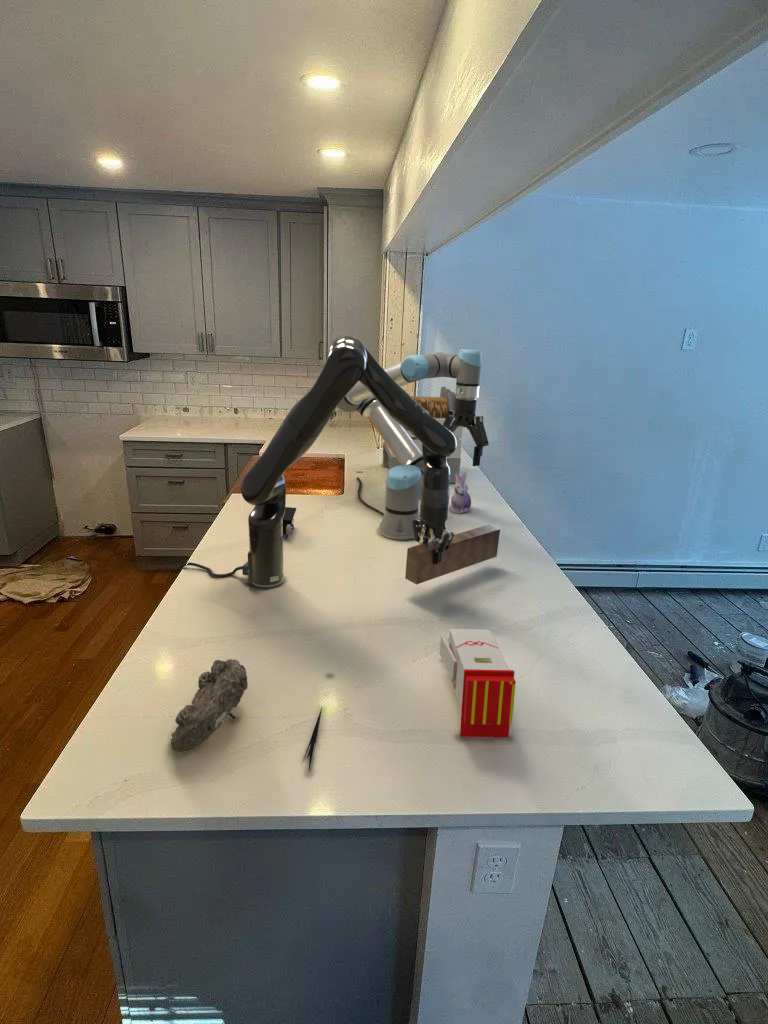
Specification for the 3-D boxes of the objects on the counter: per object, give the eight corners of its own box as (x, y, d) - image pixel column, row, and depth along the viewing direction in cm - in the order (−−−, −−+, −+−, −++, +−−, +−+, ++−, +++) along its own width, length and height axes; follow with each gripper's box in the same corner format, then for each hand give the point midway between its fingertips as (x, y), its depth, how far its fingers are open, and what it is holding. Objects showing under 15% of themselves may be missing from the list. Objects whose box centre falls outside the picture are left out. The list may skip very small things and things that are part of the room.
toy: (489, 613, 130) (525, 677, 101) (485, 667, 133) (518, 744, 104) (437, 612, 130) (457, 676, 101) (434, 666, 133) (453, 743, 103)
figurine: (457, 515, 220) (461, 478, 215) (443, 507, 229) (446, 471, 224) (477, 512, 224) (481, 475, 219) (462, 504, 233) (466, 469, 228)
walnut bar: (416, 584, 152) (419, 553, 149) (405, 578, 155) (407, 548, 152) (496, 556, 173) (500, 529, 170) (485, 551, 176) (488, 524, 173)
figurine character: (292, 545, 190) (297, 524, 203) (291, 525, 186) (296, 505, 200) (271, 544, 189) (278, 523, 203) (270, 524, 186) (277, 504, 199)
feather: (331, 679, 122) (336, 673, 122) (307, 777, 96) (313, 769, 95) (324, 675, 122) (329, 669, 121) (298, 772, 95) (304, 764, 95)
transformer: (381, 463, 289) (385, 382, 275) (444, 464, 292) (450, 384, 279) (389, 482, 257) (393, 392, 243) (459, 483, 261) (467, 394, 247)
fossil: (195, 660, 117) (247, 628, 112) (227, 691, 120) (279, 661, 115) (146, 746, 98) (206, 711, 93) (185, 779, 101) (245, 748, 96)
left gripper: (406, 497, 153) (402, 555, 159) (444, 512, 143) (439, 573, 149) (425, 492, 158) (421, 549, 164) (464, 506, 148) (458, 566, 153)
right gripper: (431, 393, 192) (427, 454, 200) (488, 405, 175) (481, 471, 182) (446, 392, 197) (442, 452, 204) (504, 403, 180) (496, 467, 187)
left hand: (430, 560), depth 156 cm, fingers closed on walnut bar, 4 cm apart
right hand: (460, 461), depth 193 cm, fingers open, 13 cm apart
